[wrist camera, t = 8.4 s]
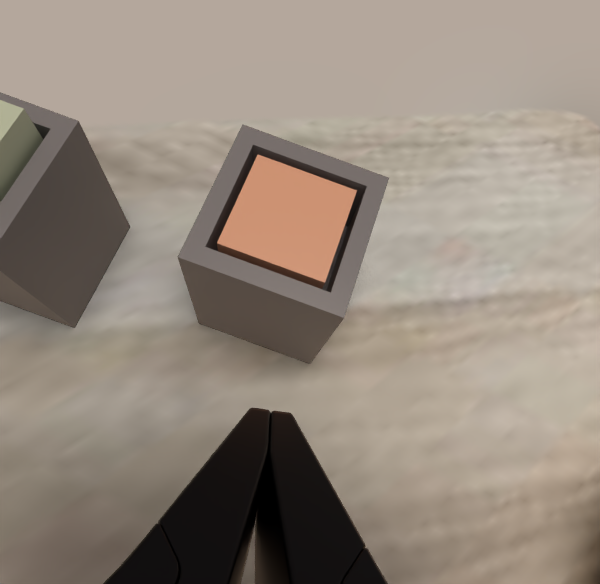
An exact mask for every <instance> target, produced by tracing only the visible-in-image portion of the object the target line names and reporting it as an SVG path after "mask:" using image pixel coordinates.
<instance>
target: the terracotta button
mask: <svg viewBox="0 0 600 584" xmlns="http://www.w3.org/2000/svg"><path fill="white" fill-rule="evenodd" d="M356 192H357V190H354V189H351V188H349V187H346V186H343V185H340V184H338V183H335V182H332V181H329V180H327V179H324V178H321V177H318V176H316V175H313V174H310V173H308V172H305V171H302V170H299V169H297V168H294V167H291V166H288V165H286V164H283V163H280V162H277V161H275V160H272V159H269V158H266V157H264V156H261V155H257V157H256V159H255V161H254V164H253V166H252V168H251V170H250V172H249V174H248V177H247V179H246V181H245V183H244V185H243V187H242V190H241V192H240V194H239V196H238V198H237V200H236V203H235V205H234V207H233V209H232V211H231V214H230V216H229V218H228V220H227V222H226V224H225V227H224V229H223V231H222V233H221V235H220V237H219V240H218V242H217V248H218V252H221V253H224V254H227V255H229V256H232V257H235V258H238V259H240V260H243V261H246V262H248V263H251V264H254V265H257V266H259V267H262V268H265V269H268V270H270V271H273V272H276V273H279V274H281V275H284V276H287V277H289V278H292V279H295V280H298V281H300V282H303V283H306V284H309V285H311V286H314V287H317V288H320V289H322V288H323V286H324V284H325V281H326V278H327V275H328V273H329V270H330V267H331V264H332V261H333V258H334V255H335V252H336V250H337V247H338V244H339V241H340V238H341V235H342V232H343V229H344V227H345V224H346V221H347V218H348V215H349V212H350V209H351V206H352V204H353V201H354V198H355V195H356Z"/></svg>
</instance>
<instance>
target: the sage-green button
mask: <svg viewBox="0 0 600 584" xmlns="http://www.w3.org/2000/svg"><path fill="white" fill-rule="evenodd" d="M42 141H43V138H42V137H41V135H40V133H39V132H38V130H37V129H36V127H35V125H34V124H33V122H32V121H31V119H30V117H29V116H28V114H27V113H26V111H25V109H24V108H21V107H18V106H15V105H13V104H10V103H7V102H4V101H2V100H0V202H1V201H2V200H3V198H4V197H5V195H6V194H7V192H8V191H9V189H10V188H11V186H12V185H13V183H14V182H15V181H16V179H17V178H18V176H19V175H20V173H21V172H22V170H23V169H24V167H25V166H26V164H27V163H28V162H29V160H30V159H31V157H32V156H33V154H34V153H35V151H36V150H37V148H38V147H39V146H40V144H41V143H42Z"/></svg>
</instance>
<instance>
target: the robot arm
mask: <svg viewBox="0 0 600 584" xmlns="http://www.w3.org/2000/svg"><path fill="white" fill-rule="evenodd" d="M255 520H256V525H255ZM254 525H255V584H388V583H387V582H386V580H385V578H384V576H383V575H382V573H381V571H380V570H379V568H378V566H377V565H376V563H375V561H374V559H373V557H372V556H371V554H370V552H369V550H368V549H367V548H365V543H364V542H363V540H362V538H361V536H360V534H359V533H358V531H357V529H356V527H355V526H354V524H353V522H352V520H351V518H350V517H349V515H348V513H347V511H346V509H345V508H344V506H343V504H342V502H341V501H340V499H339V497H338V495H337V493H336V492H335V490H334V488H333V486H332V484H331V483H330V481H329V479H328V477H327V476H326V474H325V472H324V470H323V468H322V467H321V465H320V463H319V461H318V459H317V458H316V456H315V454H314V452H313V451H312V449H311V447H310V445H309V443H308V442H307V440H306V438H305V436H304V435H303V433H302V431H301V429H300V427H299V426H298V424H297V422H296V420H295V418H294V417H293V415H292V414H291V413H287V412H280V411H272V412H271V413H270V411H269V410H266V409H258V408H250V409H249V410H248V411H247V413H246V414H245V415H244V416H243V418H242V419H241V420H240V421H239V422H238V424H237V425H236V426H235V427H234V429H233V430H232V431H231V432H230V434H229V435H228V436H227V437H226V438H225V440H224V441H223V442H222V443H221V445H220V446H219V447H218V448H217V450H216V451H215V452H214V453H213V455H212V456H211V457H210V458H209V459H208V461H207V462H206V463H205V464H204V466H203V467H202V468H201V469H200V471H199V472H198V473H197V474H196V475H195V477H194V478H193V479H192V480H191V482H190V483H189V484H188V485H187V487H186V488H185V489H184V490H183V491H182V493H181V494H180V495H179V496H178V498H177V499H176V500H175V501H174V503H173V504H172V505H171V506H170V508H169V509H168V510H167V511H166V512H165V514H164V515H163V516H162V517H161V519H160V520H159V522H158V524H156V525H155V526H154V527H153V528H152V529H151V531H150V532H149V533H148V534H147V536H146V537H145V538H144V539H143V540H142V542H141V543H140V544H139V545H138V546H137V547H136V549H135V550H134V551H133V552H132V553H131V554H130V555H129V557H128V558H127V559H126V560H125V561H124V562H123V564H122V565H121V566H120V567H119V568H118V569H117V570H116V571H115V572H114V573H113V574H112V575H111V576H110V577H109V578H108V579H107V580H106V581H105V582H104V583H103V584H241V580H242V576H243V572H244V568H245V564H246V560H247V555H248V551H249V547H250V543H251V539H252V534H253V530H254Z"/></svg>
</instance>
